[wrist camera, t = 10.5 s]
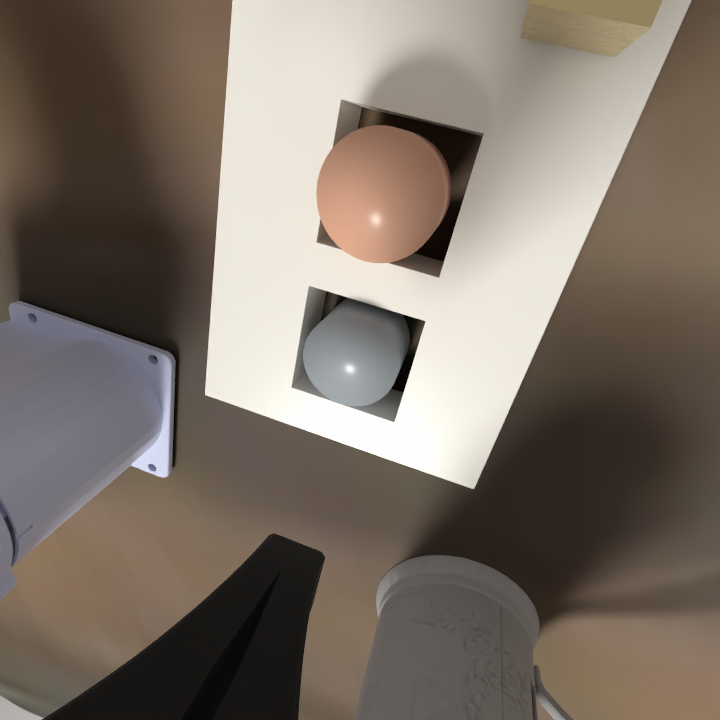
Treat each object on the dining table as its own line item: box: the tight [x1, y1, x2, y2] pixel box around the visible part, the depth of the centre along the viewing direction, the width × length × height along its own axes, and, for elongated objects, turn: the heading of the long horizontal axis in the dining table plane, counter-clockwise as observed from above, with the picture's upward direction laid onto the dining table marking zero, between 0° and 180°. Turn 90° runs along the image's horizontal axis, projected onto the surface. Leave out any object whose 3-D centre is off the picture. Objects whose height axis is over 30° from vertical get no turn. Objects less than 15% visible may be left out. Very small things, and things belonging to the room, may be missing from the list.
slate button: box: [303, 298, 410, 406], centre depth 18 cm, size 4×4×3 cm
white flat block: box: [205, 0, 691, 489], centre depth 15 cm, size 12×20×3 cm, turn 167°
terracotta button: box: [316, 125, 452, 263], centre depth 14 cm, size 4×4×3 cm
